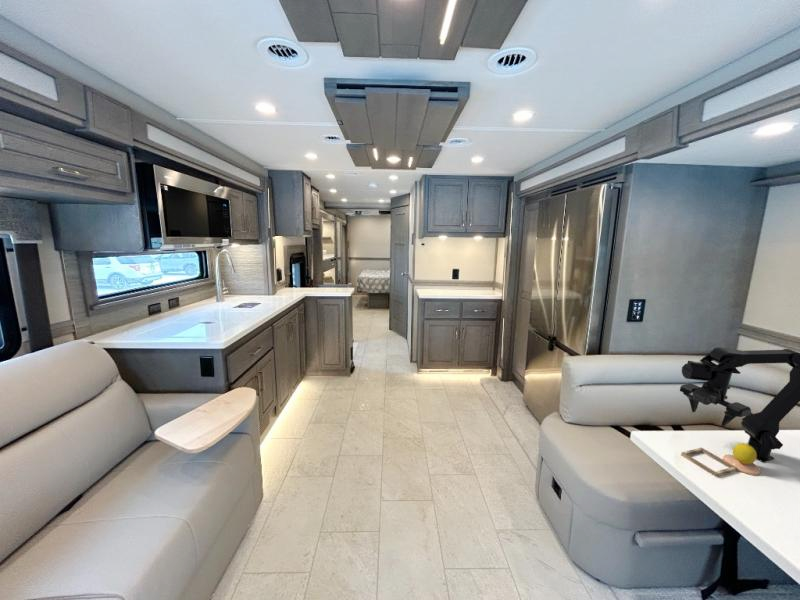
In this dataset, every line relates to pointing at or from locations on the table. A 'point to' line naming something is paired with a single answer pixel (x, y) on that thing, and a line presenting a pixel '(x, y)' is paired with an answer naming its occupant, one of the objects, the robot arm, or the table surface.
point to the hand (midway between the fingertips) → (707, 418)
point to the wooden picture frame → (698, 450)
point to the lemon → (744, 453)
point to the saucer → (742, 465)
